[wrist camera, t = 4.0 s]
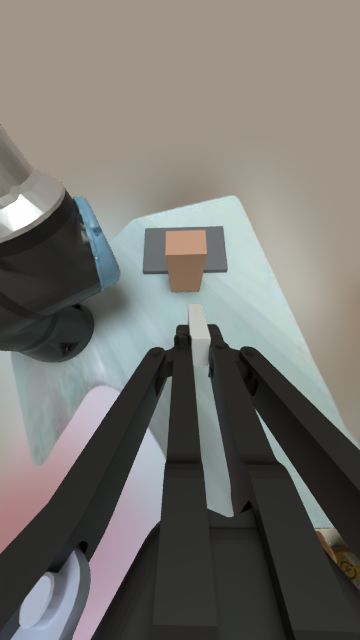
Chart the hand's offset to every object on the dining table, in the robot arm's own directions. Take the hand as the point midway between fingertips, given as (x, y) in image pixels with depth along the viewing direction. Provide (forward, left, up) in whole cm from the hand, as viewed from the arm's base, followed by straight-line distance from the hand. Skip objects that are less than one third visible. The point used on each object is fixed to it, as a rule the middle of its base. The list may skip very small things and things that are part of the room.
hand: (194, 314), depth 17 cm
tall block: (-1, +15, -19) cm, 24 cm away
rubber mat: (-1, +25, -19) cm, 31 cm away
